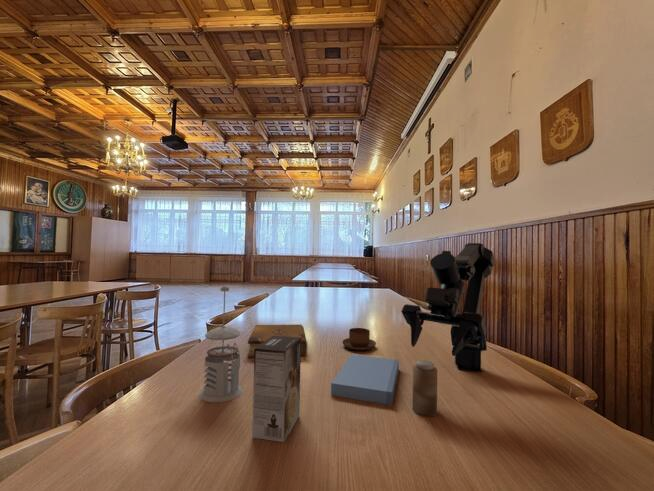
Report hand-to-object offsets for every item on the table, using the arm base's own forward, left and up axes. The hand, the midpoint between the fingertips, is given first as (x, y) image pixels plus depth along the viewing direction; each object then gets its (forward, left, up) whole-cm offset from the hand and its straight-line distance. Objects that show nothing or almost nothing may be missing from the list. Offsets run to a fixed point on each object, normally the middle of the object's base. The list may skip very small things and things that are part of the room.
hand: (431, 350), depth 68 cm
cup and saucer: (+23, -35, -12) cm, 44 cm away
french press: (+46, +11, -12) cm, 49 cm away
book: (+15, -8, -12) cm, 21 cm away
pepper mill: (+1, +3, -12) cm, 13 cm away
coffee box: (+28, +19, -12) cm, 37 cm away
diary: (+51, -25, -13) cm, 58 cm away
